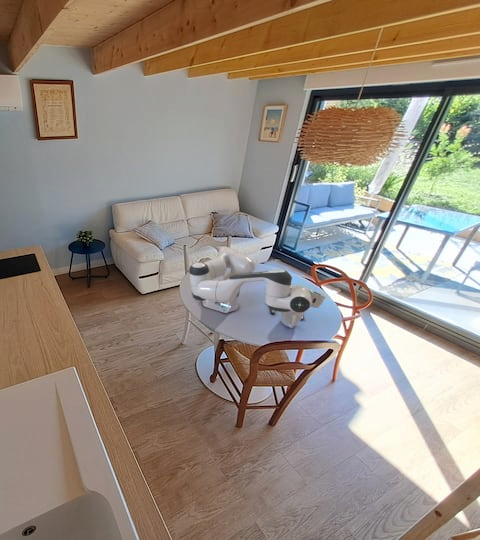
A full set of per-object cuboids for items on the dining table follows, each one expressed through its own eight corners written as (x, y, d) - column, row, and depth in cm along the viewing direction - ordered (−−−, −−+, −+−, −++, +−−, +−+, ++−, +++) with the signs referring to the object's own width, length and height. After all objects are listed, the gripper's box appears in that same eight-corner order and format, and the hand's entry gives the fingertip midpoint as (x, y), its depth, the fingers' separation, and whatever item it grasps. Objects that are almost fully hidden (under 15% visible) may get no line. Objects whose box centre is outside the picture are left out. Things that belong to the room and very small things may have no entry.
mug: (300, 335, 163) (307, 318, 156) (279, 331, 166) (285, 313, 160) (297, 320, 175) (303, 303, 168) (277, 316, 178) (282, 299, 172)
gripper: (273, 293, 137) (275, 286, 148) (322, 309, 127) (320, 301, 139) (278, 281, 135) (279, 275, 146) (328, 297, 125) (325, 289, 137)
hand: (300, 288), depth 143 cm, fingers open, 8 cm apart
